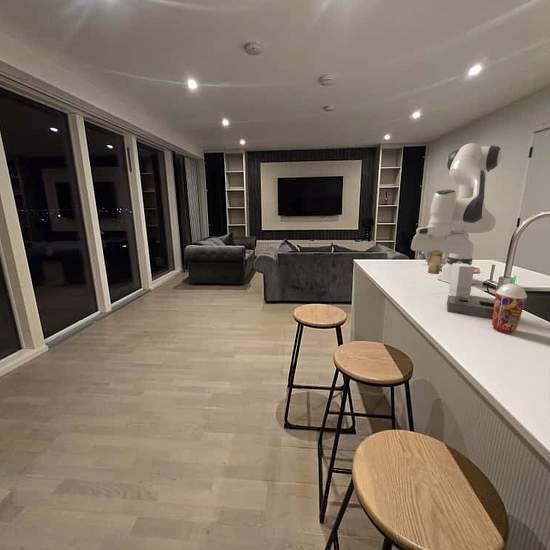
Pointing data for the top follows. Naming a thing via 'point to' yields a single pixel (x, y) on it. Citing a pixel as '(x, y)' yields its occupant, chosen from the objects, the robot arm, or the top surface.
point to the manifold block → (470, 306)
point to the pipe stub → (435, 262)
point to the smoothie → (508, 307)
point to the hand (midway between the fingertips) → (435, 262)
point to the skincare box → (461, 280)
